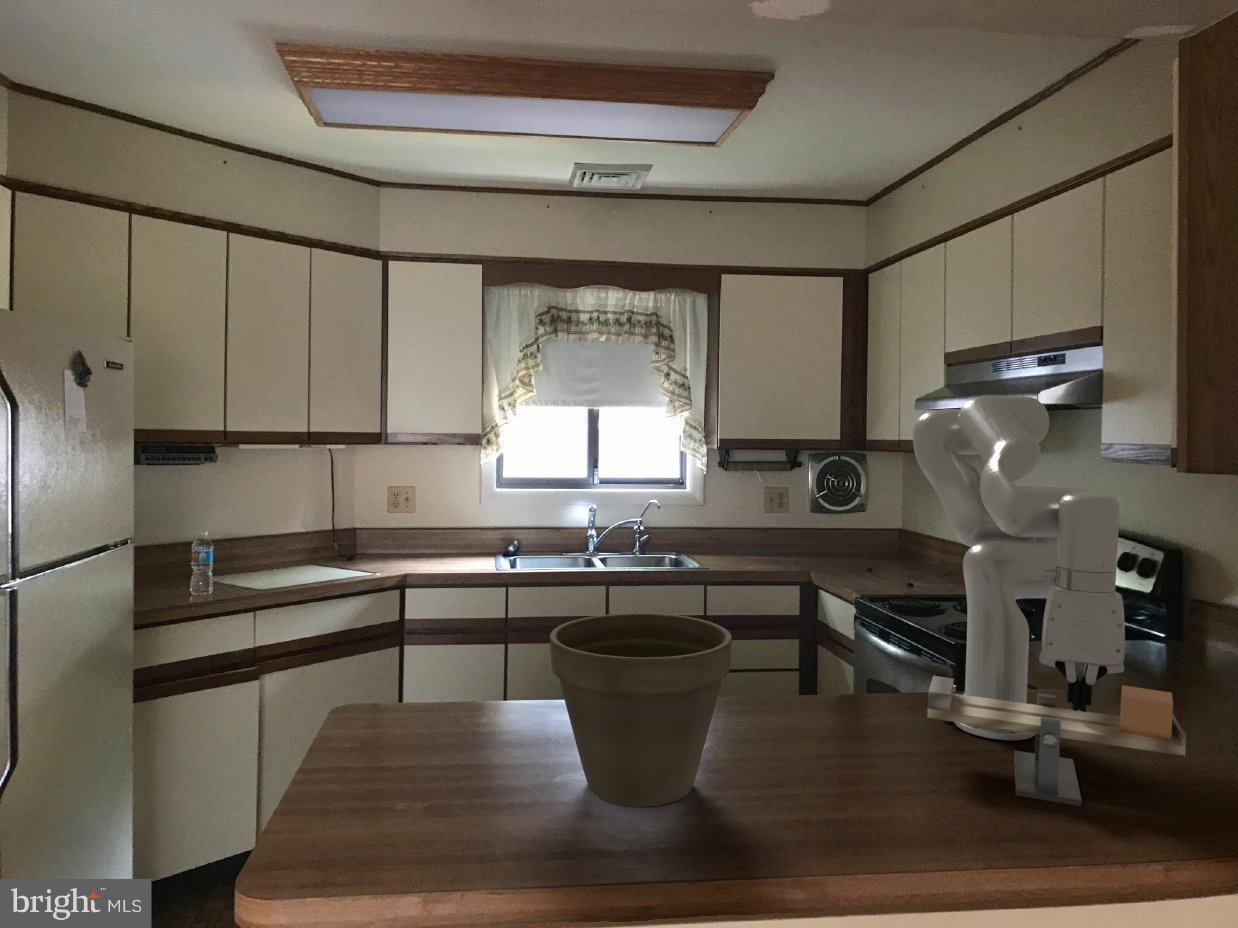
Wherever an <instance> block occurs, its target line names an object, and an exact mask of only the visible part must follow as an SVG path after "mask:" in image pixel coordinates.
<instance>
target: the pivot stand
mask: <svg viewBox="0 0 1238 928" xmlns="http://www.w3.org/2000/svg"><path fill="white" fill-rule="evenodd" d="M1036 695H1037V699H1036V705H1041V706H1048V707H1056V704H1057V703H1056V701H1057V698H1056V695H1055V694H1050V693H1049V694H1047V693H1041V692H1038V693H1037V694H1036ZM1060 725H1061V723H1060V720H1055V719H1048V718H1041V719H1040V734H1035V742H1034V743H1035V747H1034V748H1035V749H1034V752H1033V753H1032V752H1027V751H1026V752H1025V751H1021V750H1020V751H1019V750H1014V782H1015V796H1018V797H1023V798H1029V799H1036V800H1041V801H1046V802H1048V801H1049V802H1054V803H1058V804H1059V803H1060V804H1064V805H1071V806H1076V807H1082V800H1083V799H1082V797H1081V791H1080V786H1079V782H1078V777H1077V773H1076V768H1075V767H1076V766H1075V762H1074V759H1073V758H1067V757H1061V756H1060V746H1061V745H1060V744H1061V737H1060Z"/></svg>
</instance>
